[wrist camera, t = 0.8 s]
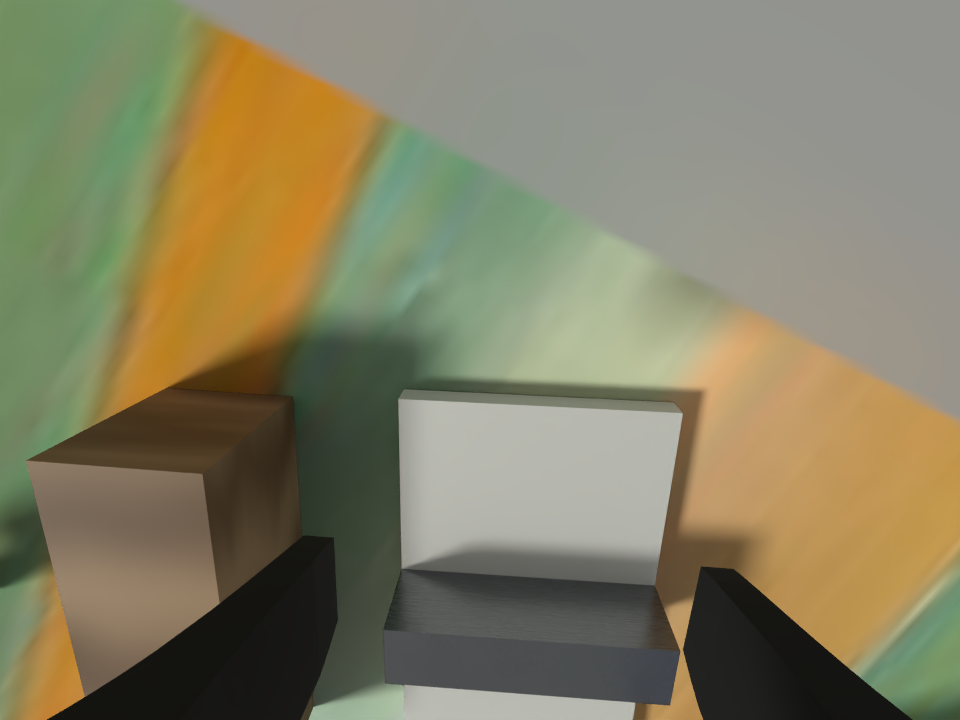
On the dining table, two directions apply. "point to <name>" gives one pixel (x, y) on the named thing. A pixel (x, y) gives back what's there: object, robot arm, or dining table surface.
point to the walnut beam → (164, 517)
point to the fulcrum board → (531, 557)
